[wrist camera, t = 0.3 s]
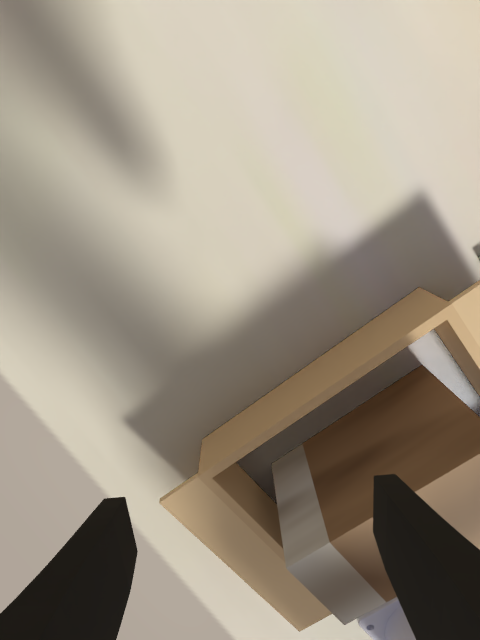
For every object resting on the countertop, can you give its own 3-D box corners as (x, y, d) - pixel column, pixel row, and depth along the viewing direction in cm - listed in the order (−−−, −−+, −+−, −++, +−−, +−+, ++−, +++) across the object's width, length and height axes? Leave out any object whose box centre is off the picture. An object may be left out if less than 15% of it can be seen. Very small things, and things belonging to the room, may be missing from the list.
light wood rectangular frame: (565, 422, 22) (615, 457, 19) (292, 581, 25) (299, 631, 22) (464, 255, 19) (506, 266, 16) (168, 462, 22) (159, 502, 19)
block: (461, 420, 22) (553, 512, 15) (315, 510, 23) (344, 625, 17) (422, 364, 20) (503, 439, 14) (271, 463, 22) (286, 568, 16)
